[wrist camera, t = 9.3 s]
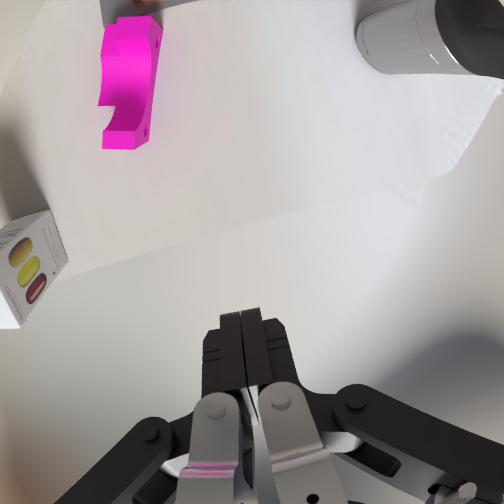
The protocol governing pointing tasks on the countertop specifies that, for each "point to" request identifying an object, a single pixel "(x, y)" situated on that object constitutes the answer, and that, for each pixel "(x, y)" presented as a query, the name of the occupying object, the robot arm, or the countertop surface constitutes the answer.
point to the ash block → (145, 2)
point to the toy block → (129, 79)
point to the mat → (131, 9)
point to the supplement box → (27, 265)
